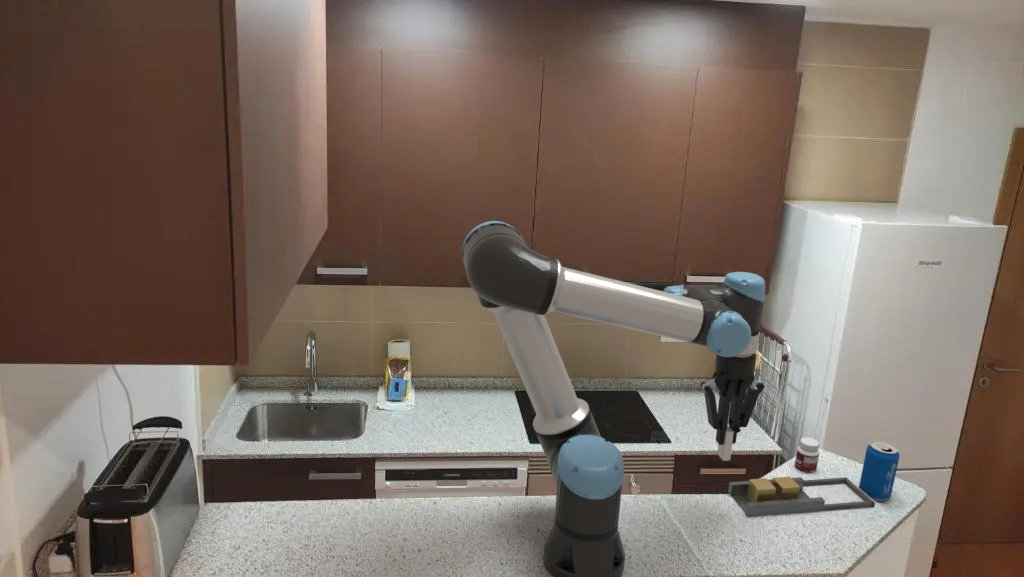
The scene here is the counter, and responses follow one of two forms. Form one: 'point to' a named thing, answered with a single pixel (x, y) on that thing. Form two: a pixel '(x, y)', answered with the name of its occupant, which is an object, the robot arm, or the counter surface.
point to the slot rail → (774, 507)
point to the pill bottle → (807, 455)
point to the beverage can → (879, 470)
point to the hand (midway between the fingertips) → (723, 457)
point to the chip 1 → (760, 490)
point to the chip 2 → (785, 488)
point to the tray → (841, 506)
